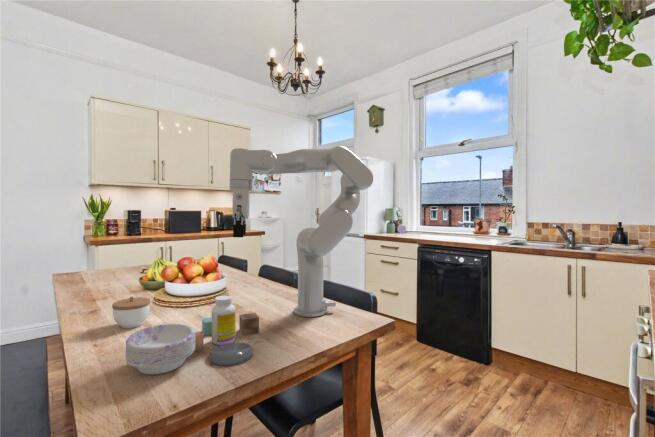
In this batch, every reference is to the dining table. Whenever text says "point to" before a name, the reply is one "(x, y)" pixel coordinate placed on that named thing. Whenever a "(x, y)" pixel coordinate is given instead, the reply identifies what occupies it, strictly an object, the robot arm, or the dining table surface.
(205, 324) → the teal block
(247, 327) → the walnut cube
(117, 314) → the lidded jar
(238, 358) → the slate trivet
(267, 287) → the dining table surface
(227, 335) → the supplement bottle
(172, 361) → the paper bowls
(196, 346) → the glossy tan egg
